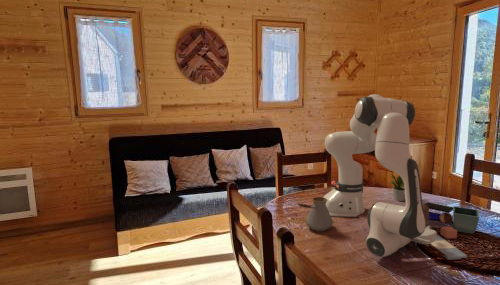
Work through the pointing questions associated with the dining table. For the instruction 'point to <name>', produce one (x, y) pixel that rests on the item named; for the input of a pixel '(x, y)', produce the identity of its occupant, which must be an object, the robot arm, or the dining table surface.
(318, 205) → the coffee pot
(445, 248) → the track
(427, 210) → the pawn
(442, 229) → the salmon red cube
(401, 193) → the house plant
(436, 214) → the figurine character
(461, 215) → the flower pot
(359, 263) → the dining table surface
